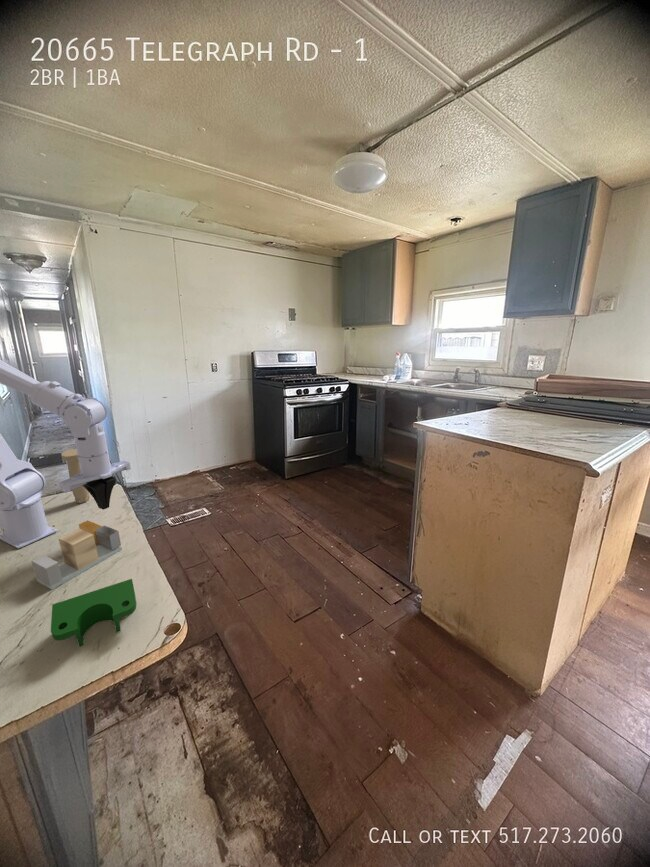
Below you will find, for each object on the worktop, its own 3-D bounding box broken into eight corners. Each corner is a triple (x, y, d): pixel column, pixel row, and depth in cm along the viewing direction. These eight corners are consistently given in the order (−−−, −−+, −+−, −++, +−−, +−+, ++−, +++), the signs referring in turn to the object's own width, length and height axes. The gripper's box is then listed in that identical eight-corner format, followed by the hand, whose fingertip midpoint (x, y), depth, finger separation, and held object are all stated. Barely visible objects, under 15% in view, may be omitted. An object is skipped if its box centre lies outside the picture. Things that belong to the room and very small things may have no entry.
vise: (37, 581, 66) (31, 560, 65) (107, 543, 79) (104, 525, 77) (51, 589, 64) (46, 568, 63) (121, 549, 76) (118, 531, 75)
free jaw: (81, 539, 79) (78, 522, 78) (90, 535, 81) (87, 518, 80) (113, 553, 75) (109, 535, 73) (121, 548, 76) (118, 531, 75)
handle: (73, 508, 94) (61, 457, 90) (72, 499, 99) (61, 451, 94) (93, 503, 97) (83, 454, 92) (92, 494, 102) (82, 447, 97)
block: (64, 563, 71) (58, 538, 69) (84, 552, 74) (79, 528, 72) (78, 570, 68) (72, 545, 67) (98, 559, 72) (93, 534, 70)
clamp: (79, 665, 55) (37, 646, 49) (78, 632, 59) (40, 611, 53) (151, 618, 58) (120, 595, 52) (146, 590, 62) (117, 566, 57)
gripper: (67, 467, 68) (80, 526, 72) (135, 446, 80) (143, 498, 84) (48, 461, 71) (62, 518, 75) (116, 442, 83) (125, 492, 87)
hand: (103, 507), depth 80 cm, fingers closed
